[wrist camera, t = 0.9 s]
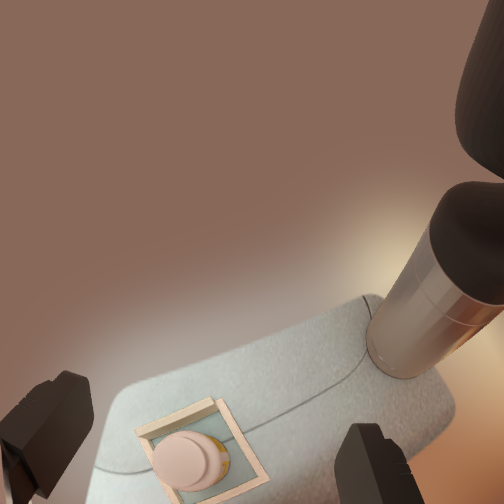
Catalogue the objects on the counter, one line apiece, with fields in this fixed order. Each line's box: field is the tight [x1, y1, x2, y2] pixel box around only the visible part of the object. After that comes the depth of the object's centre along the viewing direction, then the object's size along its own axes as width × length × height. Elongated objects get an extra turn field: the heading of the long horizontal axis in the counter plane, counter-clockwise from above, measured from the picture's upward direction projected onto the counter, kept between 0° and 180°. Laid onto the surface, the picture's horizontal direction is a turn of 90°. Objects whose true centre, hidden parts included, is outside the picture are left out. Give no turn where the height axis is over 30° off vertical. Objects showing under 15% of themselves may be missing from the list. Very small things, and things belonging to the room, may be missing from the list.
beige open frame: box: [134, 397, 270, 504], centre depth 25 cm, size 10×10×4 cm
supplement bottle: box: [152, 431, 230, 492], centre depth 22 cm, size 5×5×10 cm
